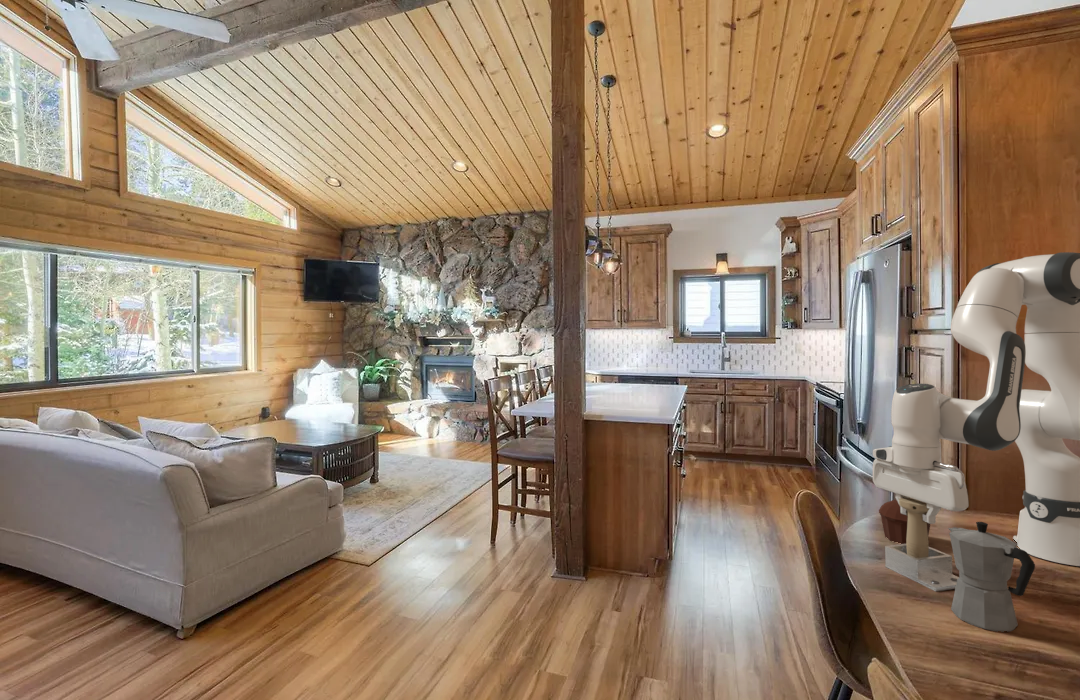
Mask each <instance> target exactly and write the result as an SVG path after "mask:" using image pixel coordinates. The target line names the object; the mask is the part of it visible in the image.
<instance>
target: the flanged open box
mask: <svg viewBox="0 0 1080 700" xmlns="http://www.w3.org/2000/svg"><path fill="white" fill-rule="evenodd" d="M884 552H885V553H884V555H885V556H884V557H885V558H884V559H885V562H884V565H885V568H887V569H889V570H891V571H893V572H895V573H898V574H899V575H901V576H904V577H905V578H908V579H910V580H911V581H914V582H915V583H917V584H919V585H921V586H924V587H926V588H927V589H929V590H932V591H934V592H942V591H949V590H955V588H956V583H957V579H958V578H959V576H957V575H954V574H953V556H952V555H951V554H949V553H946V552H943V551H940V550H938V549H936V548H933V547H930V546H929V553H928V557H924V558H915V557H913V556H910V555H908V554H907V548H906V544H898V543H897V544H890V545H885V546H884Z"/></svg>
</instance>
